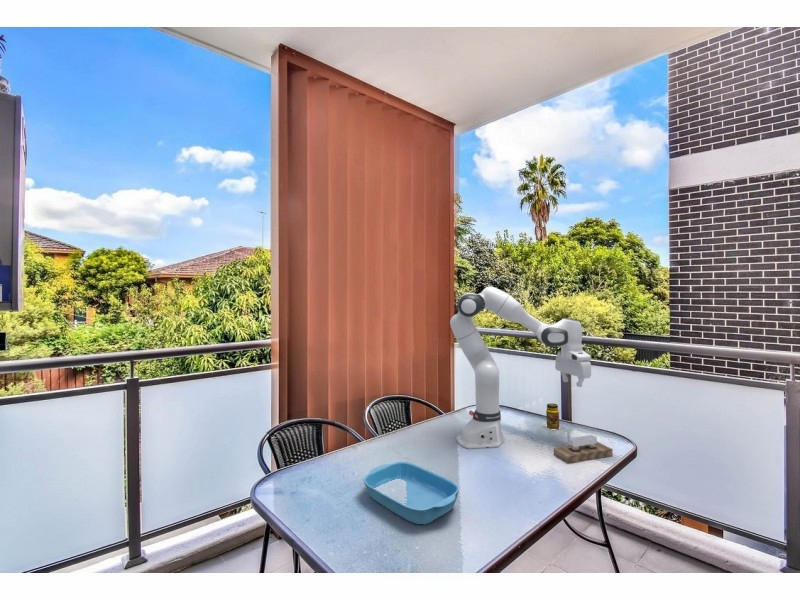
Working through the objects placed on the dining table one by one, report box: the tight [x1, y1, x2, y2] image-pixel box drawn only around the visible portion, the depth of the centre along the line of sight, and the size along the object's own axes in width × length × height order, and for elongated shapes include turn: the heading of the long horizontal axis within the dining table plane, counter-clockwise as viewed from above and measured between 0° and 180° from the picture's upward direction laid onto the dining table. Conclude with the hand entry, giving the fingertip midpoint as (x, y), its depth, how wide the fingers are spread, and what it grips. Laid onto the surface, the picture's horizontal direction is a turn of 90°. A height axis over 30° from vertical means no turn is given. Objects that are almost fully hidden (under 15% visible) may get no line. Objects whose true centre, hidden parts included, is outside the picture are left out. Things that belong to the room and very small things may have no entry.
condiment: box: [542, 403, 563, 430], centre depth 196 cm, size 7×8×12 cm
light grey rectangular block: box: [567, 434, 598, 452], centre depth 162 cm, size 12×3×8 cm, turn 104°
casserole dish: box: [363, 461, 460, 525], centre depth 132 cm, size 37×22×7 cm, turn 42°
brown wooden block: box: [553, 441, 613, 465], centre depth 162 cm, size 22×9×3 cm, turn 104°
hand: (572, 384), depth 173 cm, fingers open, 8 cm apart
